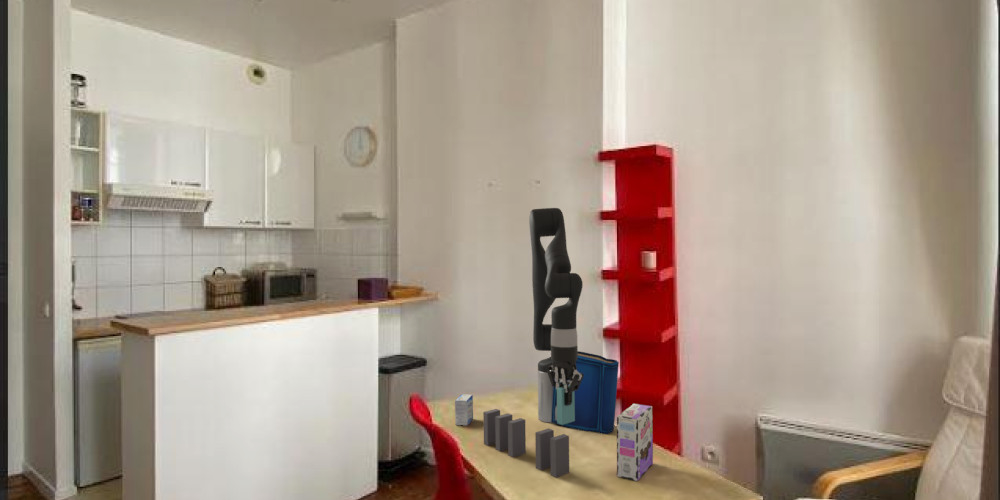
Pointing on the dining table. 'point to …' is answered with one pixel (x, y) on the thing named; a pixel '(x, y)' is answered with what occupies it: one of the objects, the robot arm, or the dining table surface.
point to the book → (593, 394)
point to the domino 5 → (565, 408)
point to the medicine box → (464, 410)
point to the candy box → (634, 441)
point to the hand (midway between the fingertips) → (564, 403)
